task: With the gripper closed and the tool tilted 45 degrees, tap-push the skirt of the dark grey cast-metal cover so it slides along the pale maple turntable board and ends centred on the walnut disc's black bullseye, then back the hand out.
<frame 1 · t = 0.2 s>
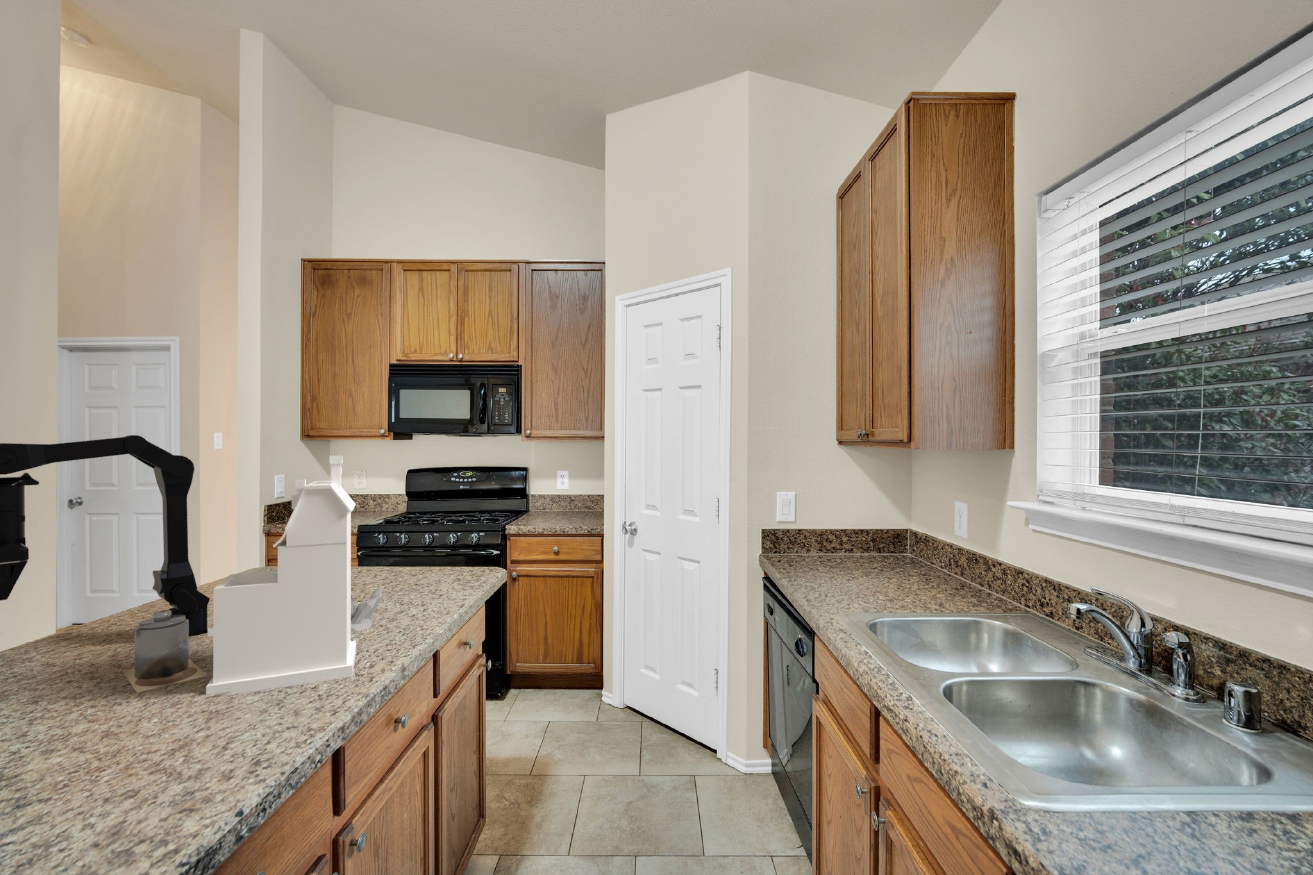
hand: (2, 595, 108), 14 cm above the countertop, tool pointing down, fingers open, 9 cm apart
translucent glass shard: (351, 627, 136), on the countertop
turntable: (164, 676, 107), on the countertop
cover: (162, 670, 108), point 1 cm above the countertop, touching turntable
dollhouse: (289, 672, 109), on the countertop
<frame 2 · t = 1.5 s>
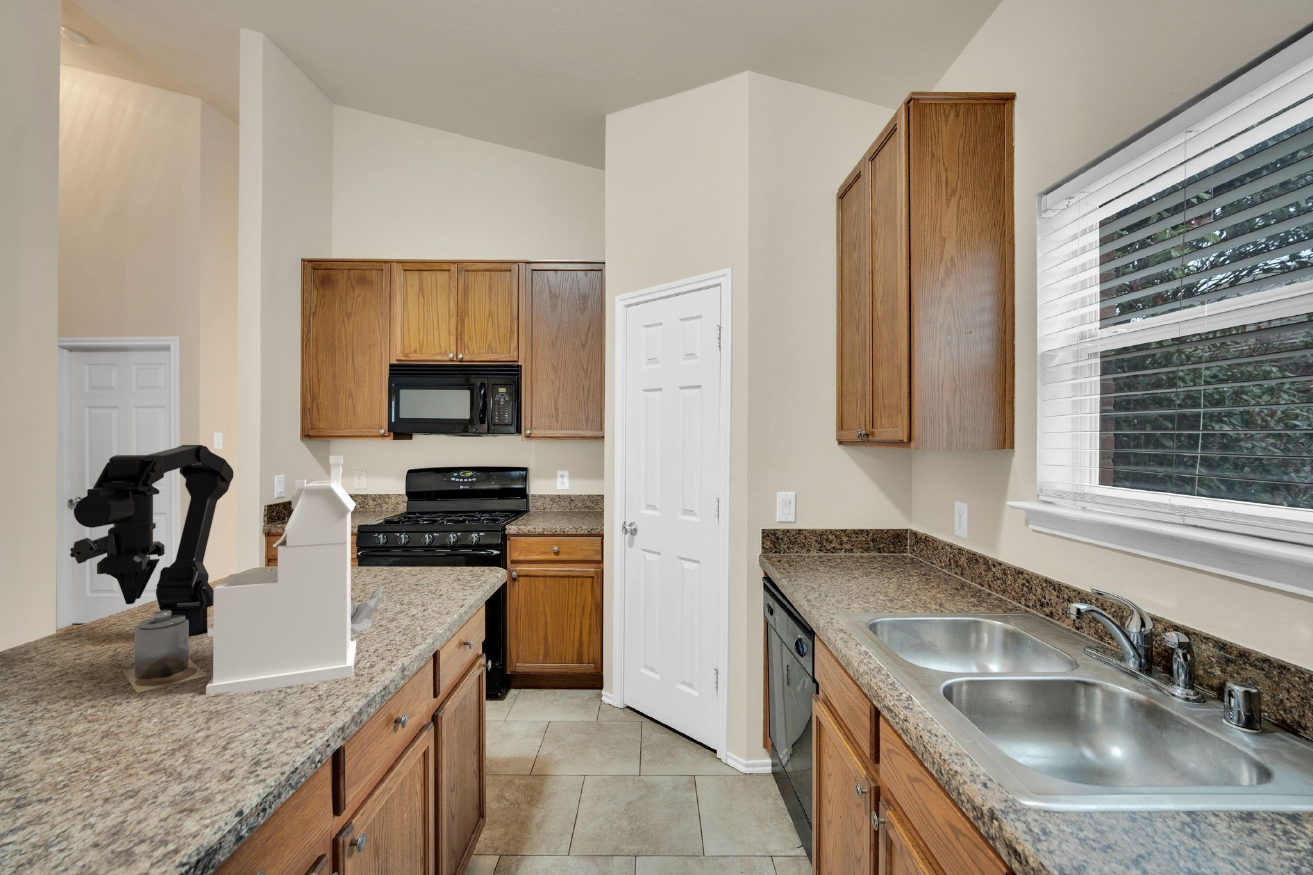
hand: (133, 601, 113), 12 cm above the countertop, tool pointing down, fingers open, 4 cm apart
nothing on the countertop moved.
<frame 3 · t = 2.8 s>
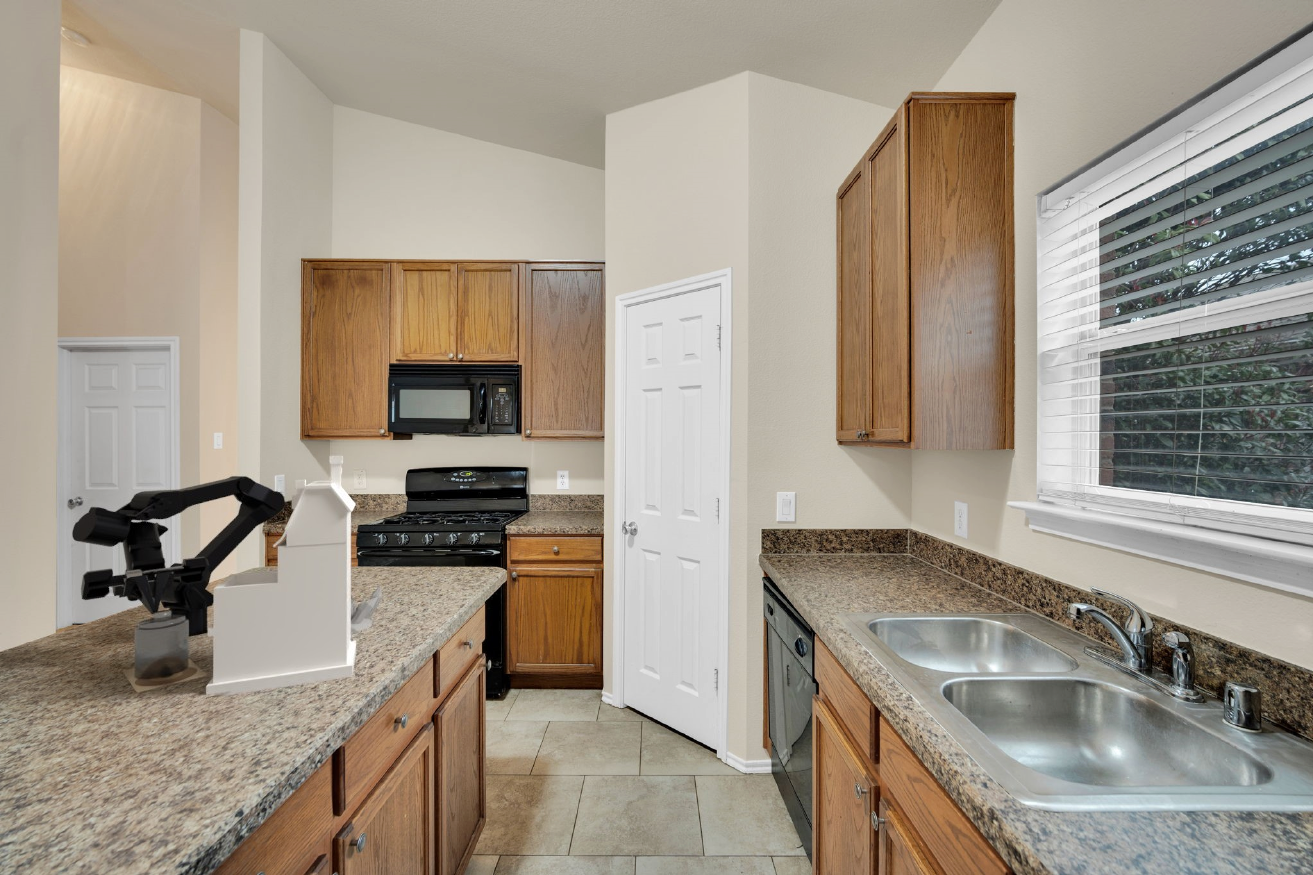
hand: (154, 612, 113), 10 cm above the countertop, tool tilted 45°, fingers closed
nothing on the countertop moved.
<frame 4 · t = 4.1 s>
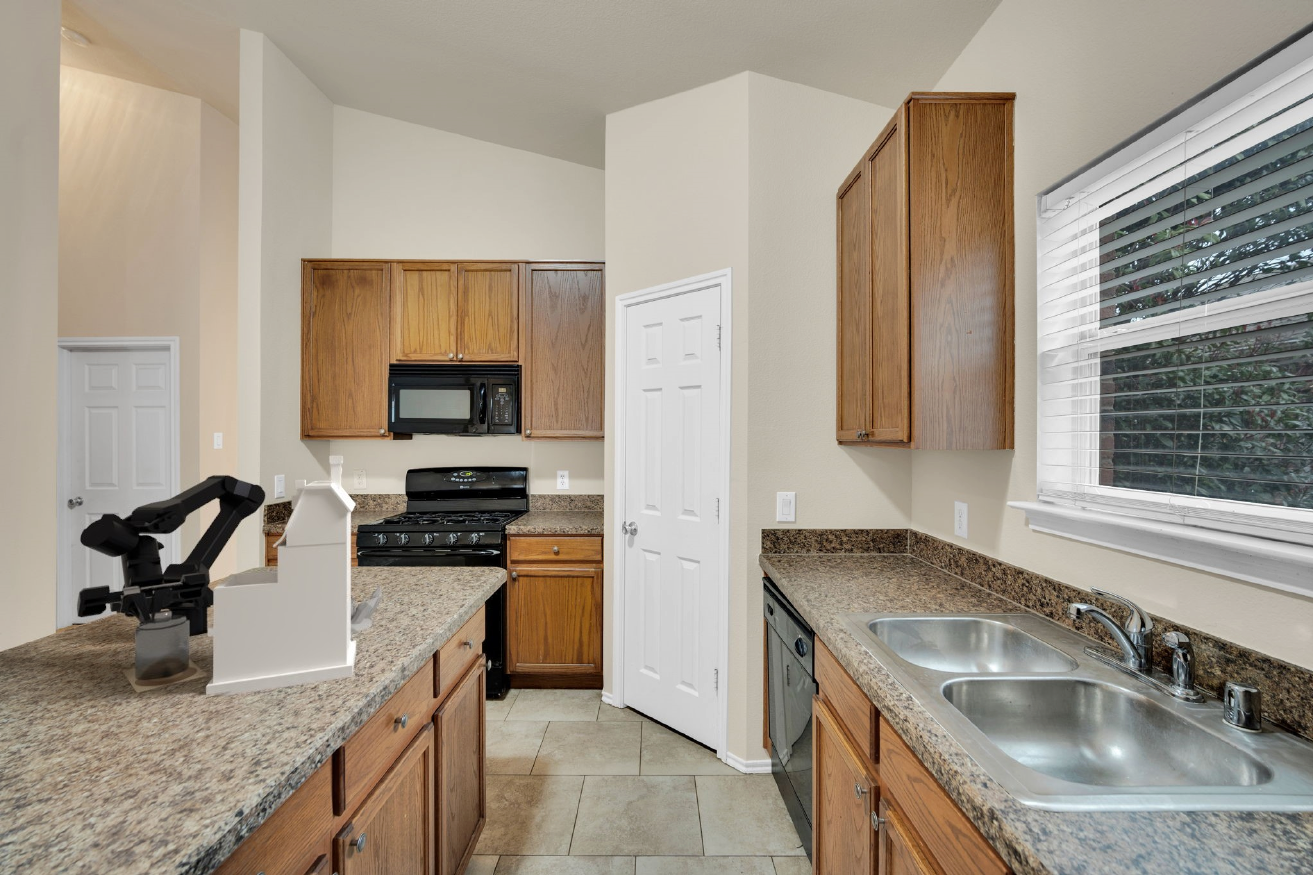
hand: (151, 631, 110), 7 cm above the countertop, tool tilted 45°, fingers closed
cover: (162, 671, 108), point 1 cm above the countertop, touching gripper, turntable
everything else where it was.
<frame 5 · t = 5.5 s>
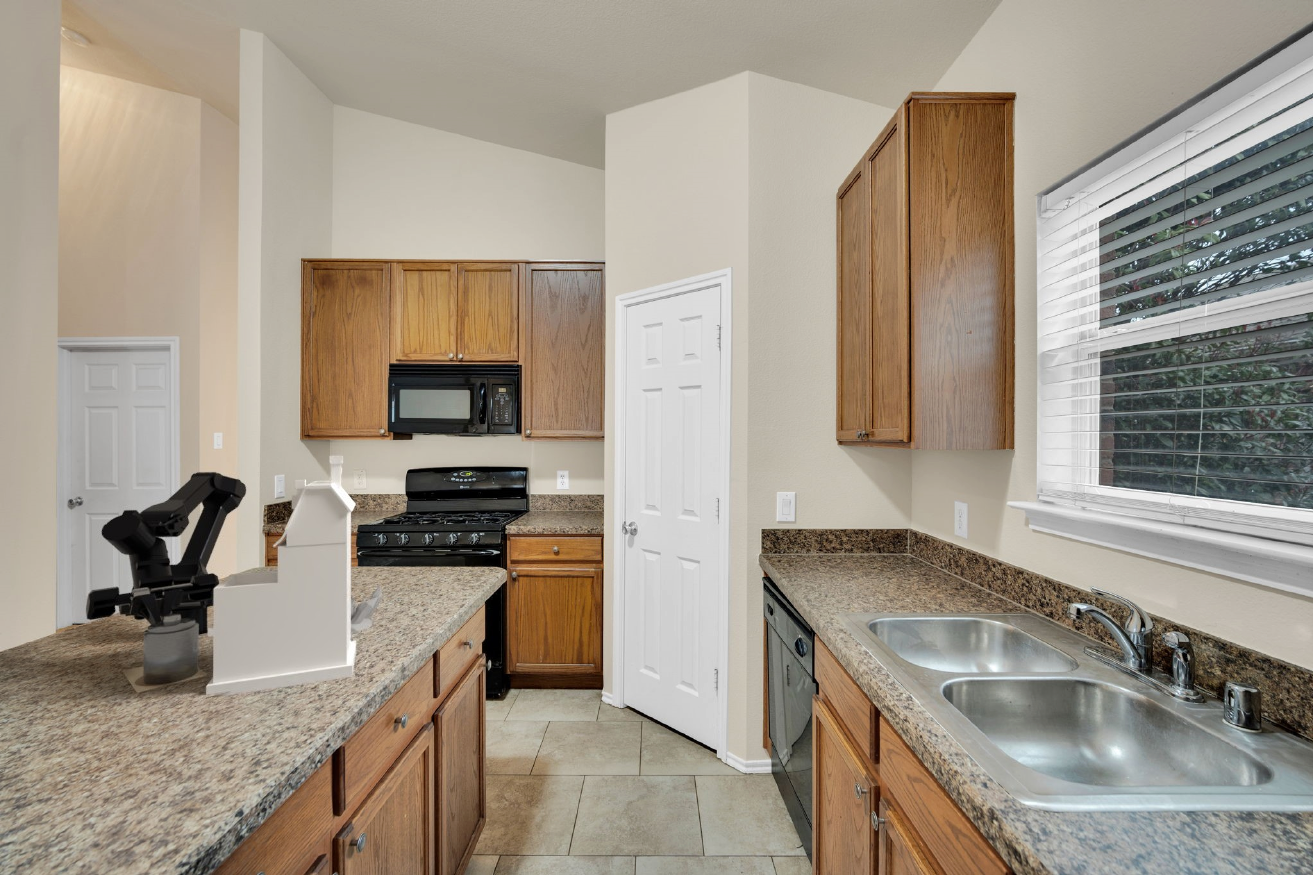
hand: (162, 633, 108), 8 cm above the countertop, tool tilted 45°, fingers closed
cover: (171, 675, 105), point 1 cm above the countertop, touching gripper, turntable
everything else where it was.
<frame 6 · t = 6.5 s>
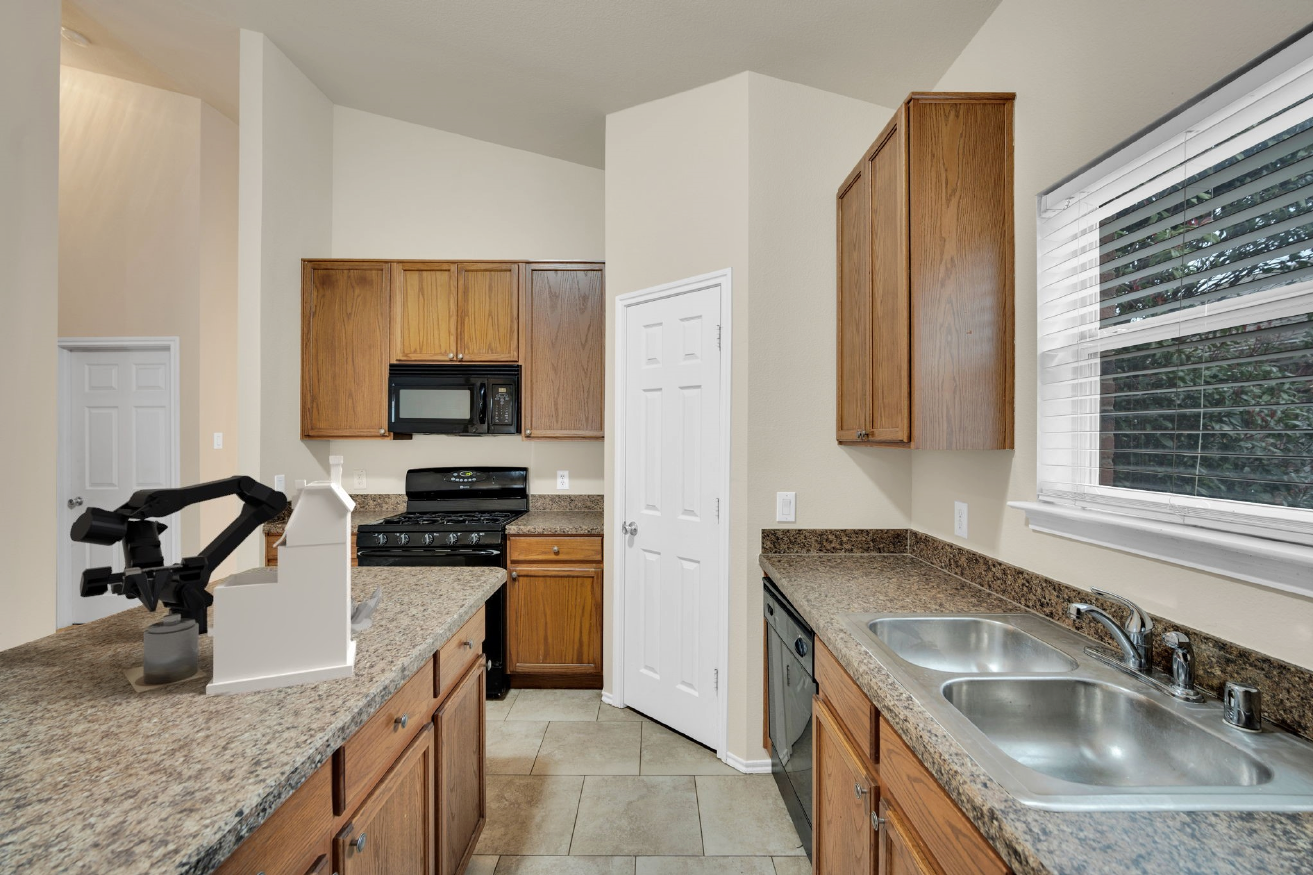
hand: (153, 610, 113), 10 cm above the countertop, tool tilted 45°, fingers closed
cover: (171, 675, 105), point 1 cm above the countertop, touching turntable
everything else where it was.
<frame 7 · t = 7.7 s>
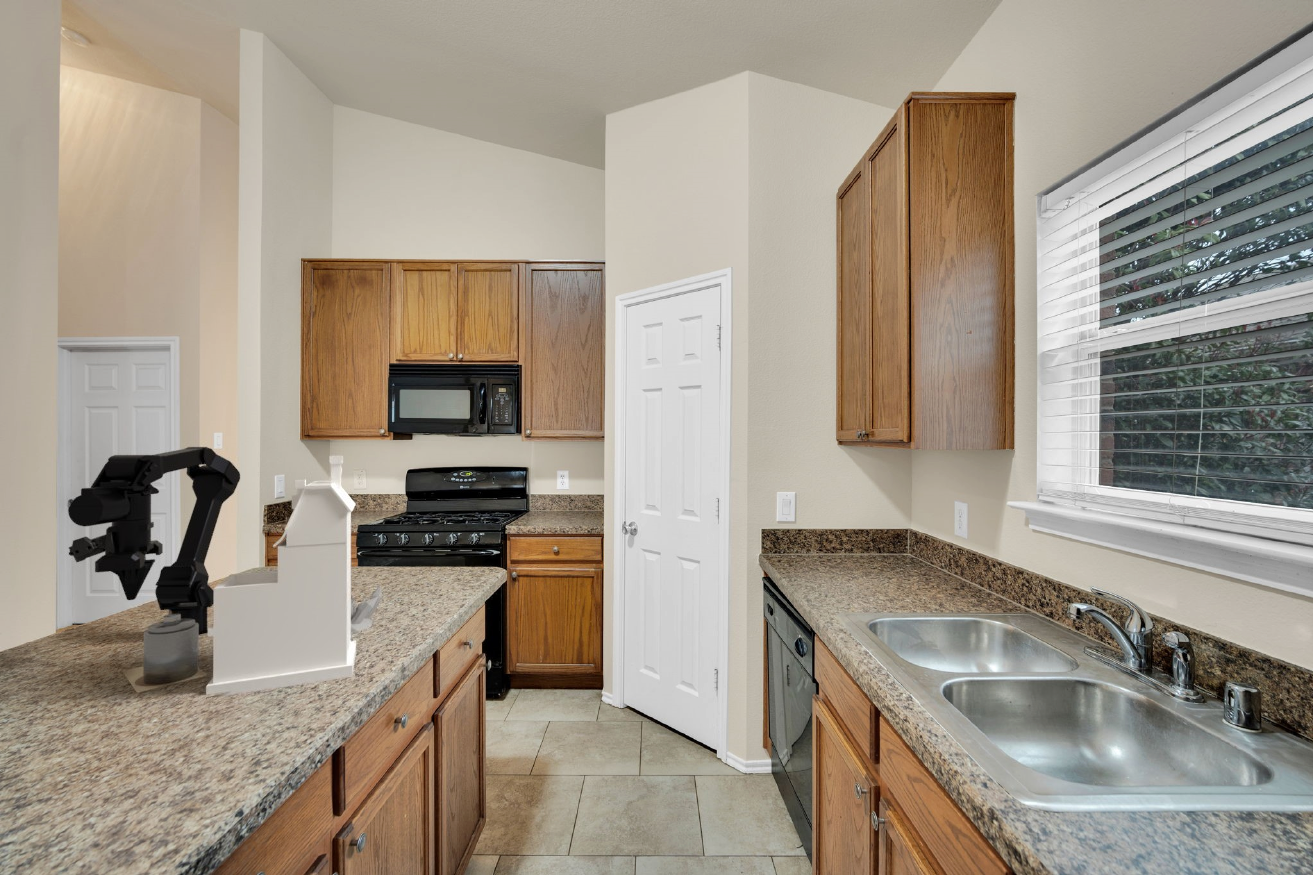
hand: (131, 599, 114), 12 cm above the countertop, tool pointing down, fingers closed
nothing on the countertop moved.
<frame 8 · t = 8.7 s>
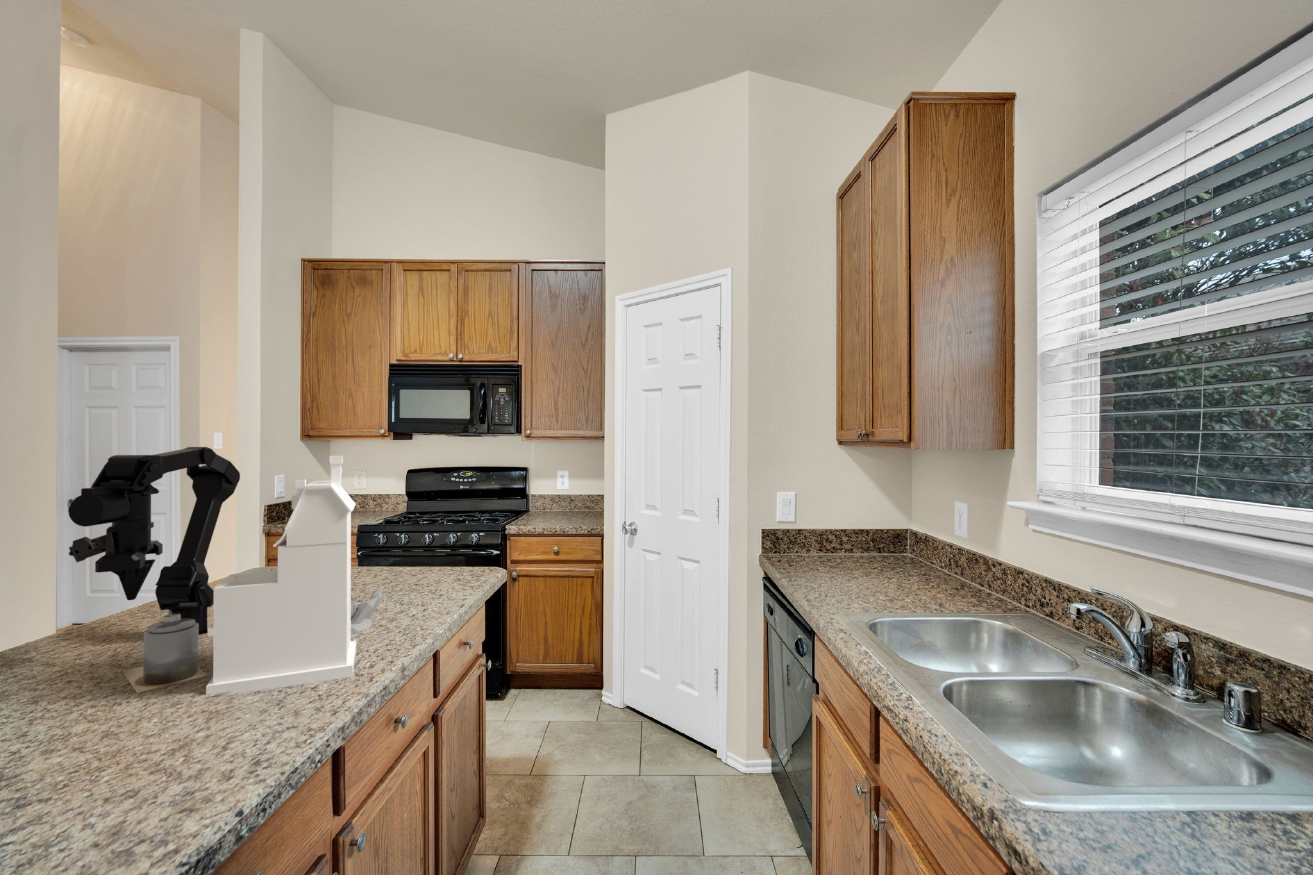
hand: (131, 599, 114), 12 cm above the countertop, tool pointing down, fingers closed
nothing on the countertop moved.
at the end: cover 0.7 cm from the target spot, point 0.7 cm above the countertop; cover tilted 0°; cover moved 4.4 cm from its start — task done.
